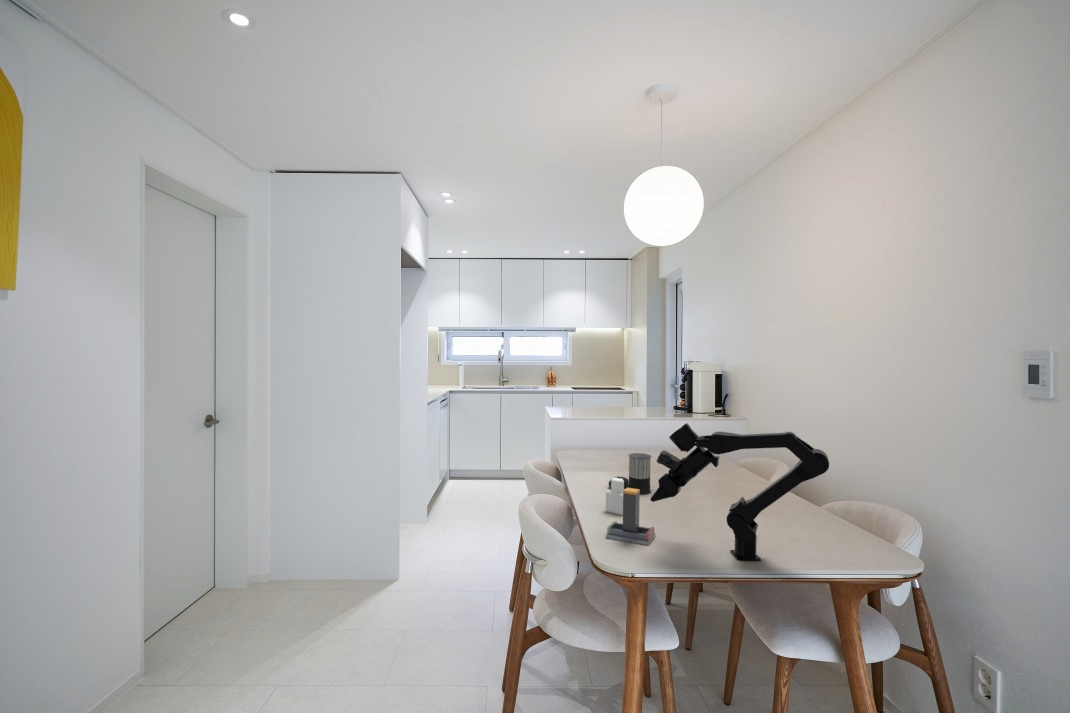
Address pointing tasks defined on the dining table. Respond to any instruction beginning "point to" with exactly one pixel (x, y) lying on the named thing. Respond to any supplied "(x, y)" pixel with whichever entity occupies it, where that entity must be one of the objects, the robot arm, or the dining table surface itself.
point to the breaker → (631, 509)
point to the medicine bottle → (616, 495)
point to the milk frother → (639, 472)
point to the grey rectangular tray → (630, 534)
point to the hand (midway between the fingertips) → (655, 496)
